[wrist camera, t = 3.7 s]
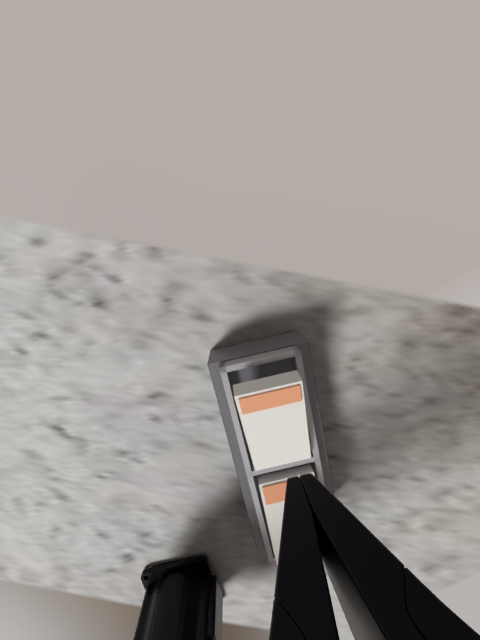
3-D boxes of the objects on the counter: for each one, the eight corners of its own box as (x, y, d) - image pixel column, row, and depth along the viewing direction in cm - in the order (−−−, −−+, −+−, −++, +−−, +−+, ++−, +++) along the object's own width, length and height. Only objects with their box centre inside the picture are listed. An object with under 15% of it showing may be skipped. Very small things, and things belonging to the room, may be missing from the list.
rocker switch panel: (254, 517, 23) (259, 566, 19) (210, 350, 20) (206, 369, 16) (326, 500, 23) (345, 545, 19) (295, 330, 20) (311, 345, 16)
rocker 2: (279, 571, 18) (281, 587, 17) (257, 476, 18) (258, 485, 17) (332, 558, 18) (338, 573, 17) (309, 463, 18) (314, 472, 17)
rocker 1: (252, 457, 18) (255, 472, 17) (232, 384, 15) (234, 397, 14) (306, 445, 18) (311, 459, 17) (296, 369, 15) (303, 382, 14)
